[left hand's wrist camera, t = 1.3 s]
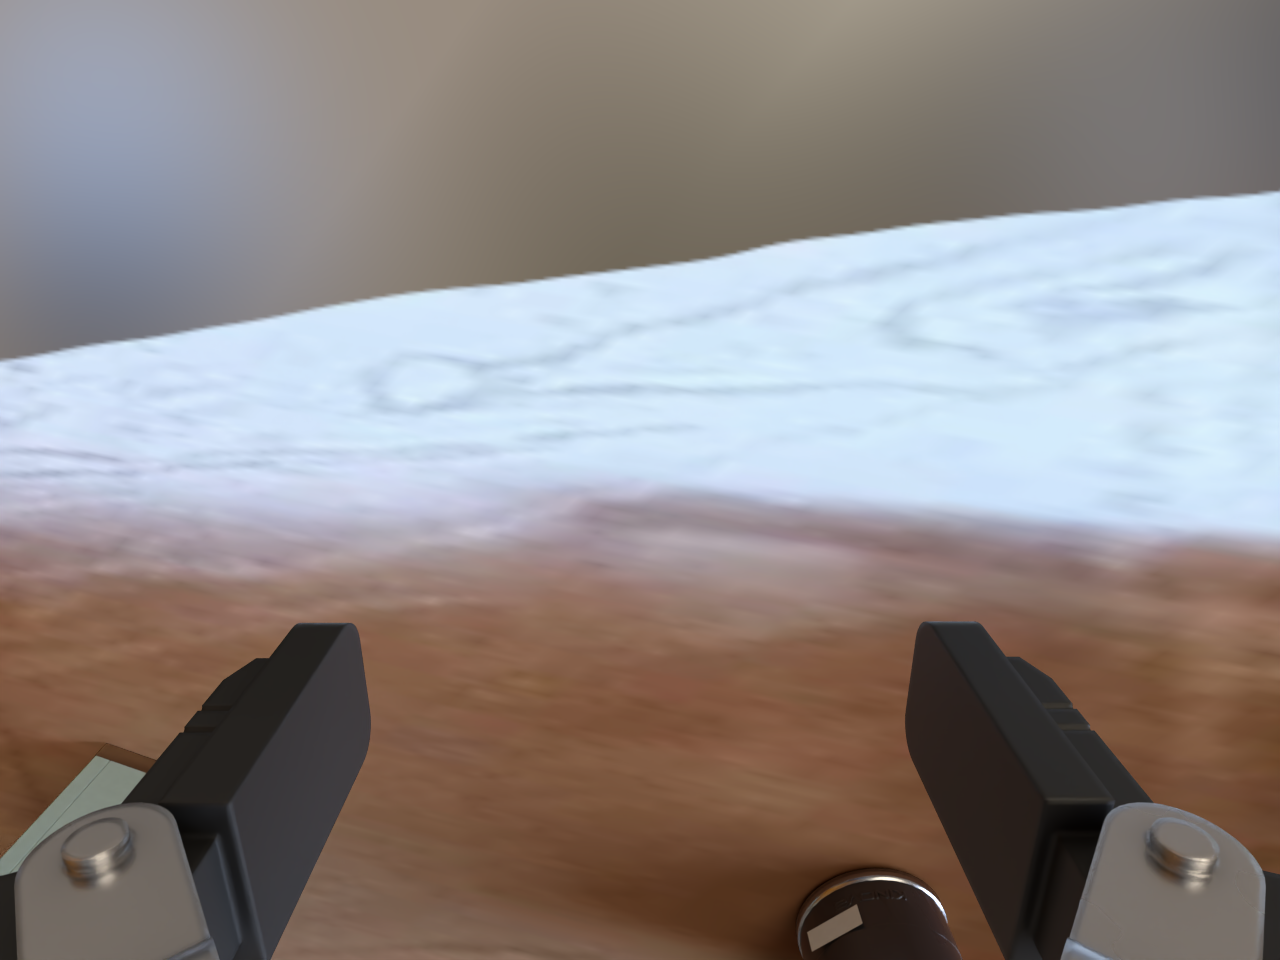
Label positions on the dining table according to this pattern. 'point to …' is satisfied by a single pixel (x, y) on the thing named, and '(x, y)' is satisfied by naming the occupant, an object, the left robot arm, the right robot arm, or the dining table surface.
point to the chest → (82, 798)
